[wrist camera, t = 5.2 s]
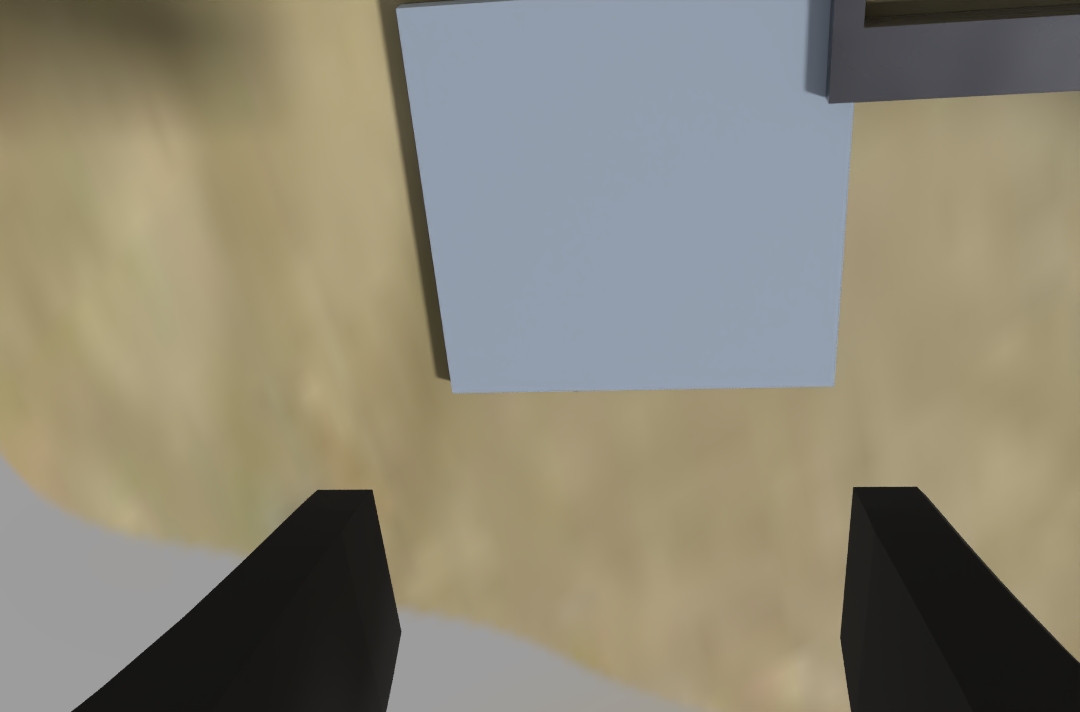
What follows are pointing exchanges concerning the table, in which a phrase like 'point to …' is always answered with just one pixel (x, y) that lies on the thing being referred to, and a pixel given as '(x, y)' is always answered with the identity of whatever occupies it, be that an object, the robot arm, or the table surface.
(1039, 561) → the table surface
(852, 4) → the rectangular frame
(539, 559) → the table surface
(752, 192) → the mat
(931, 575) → the robot arm
